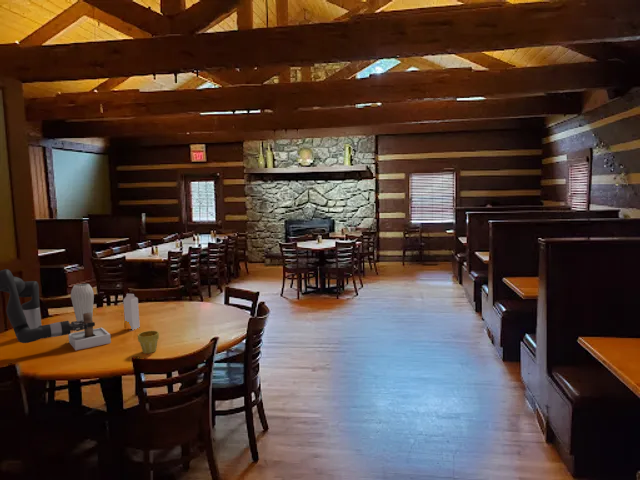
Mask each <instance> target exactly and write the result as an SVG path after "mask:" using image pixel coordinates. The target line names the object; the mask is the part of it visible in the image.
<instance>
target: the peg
mask: <svg viewBox="0 0 640 480" xmlns="http://www.w3.org/2000/svg"><path fill="white" fill-rule="evenodd" d="M83 319H84V323H91V322H92V321H93V316H92V313H84V314H83ZM84 327H85V326H84ZM93 329H94V326H92V327H88V328H87V329H84V330H83V331H85V338H88V337H93V336H94V335H93Z"/></svg>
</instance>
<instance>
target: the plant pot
mask: <svg viewBox="0 0 640 480" xmlns="http://www.w3.org/2000/svg"><path fill="white" fill-rule="evenodd" d="M159 333H160V332H159V331H157V330H146V331H142V332H140V333H138V334H137V340H138V341H137V342H139V344H140V347H141V351H142V353H143V354H146V353H147V354H153V353H156V351H157V347H158V340H159V339H160V334H159ZM152 352H153V353H152Z"/></svg>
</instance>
